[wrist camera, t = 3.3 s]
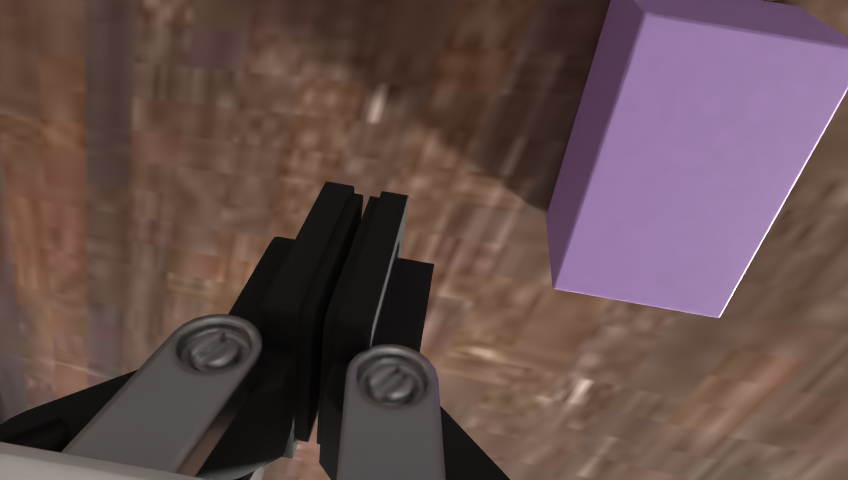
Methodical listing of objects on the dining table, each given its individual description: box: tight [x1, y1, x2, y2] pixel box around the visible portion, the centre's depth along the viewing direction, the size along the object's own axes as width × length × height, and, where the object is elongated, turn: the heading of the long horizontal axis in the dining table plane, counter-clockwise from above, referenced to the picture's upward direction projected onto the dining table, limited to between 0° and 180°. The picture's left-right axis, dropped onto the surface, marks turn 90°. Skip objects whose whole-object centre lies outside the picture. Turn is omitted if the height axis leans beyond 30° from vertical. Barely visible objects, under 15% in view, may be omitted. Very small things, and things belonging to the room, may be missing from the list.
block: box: [546, 0, 848, 318], centre depth 17 cm, size 8×5×4 cm, turn 172°
